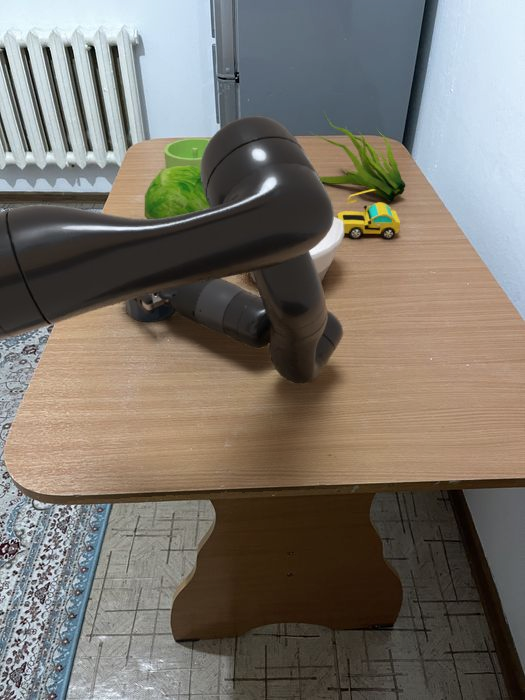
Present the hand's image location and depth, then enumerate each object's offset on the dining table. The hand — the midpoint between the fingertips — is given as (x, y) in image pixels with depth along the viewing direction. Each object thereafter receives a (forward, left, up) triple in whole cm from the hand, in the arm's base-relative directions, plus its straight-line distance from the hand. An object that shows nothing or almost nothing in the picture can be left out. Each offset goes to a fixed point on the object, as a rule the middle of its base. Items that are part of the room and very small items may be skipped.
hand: (135, 268), depth 92 cm
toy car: (+38, +31, -7) cm, 49 cm away
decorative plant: (+32, +54, -7) cm, 63 cm away
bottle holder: (+2, -1, -7) cm, 7 cm away
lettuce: (+2, +27, -7) cm, 28 cm away
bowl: (+24, +12, -7) cm, 28 cm away
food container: (+2, +56, -7) cm, 56 cm away
